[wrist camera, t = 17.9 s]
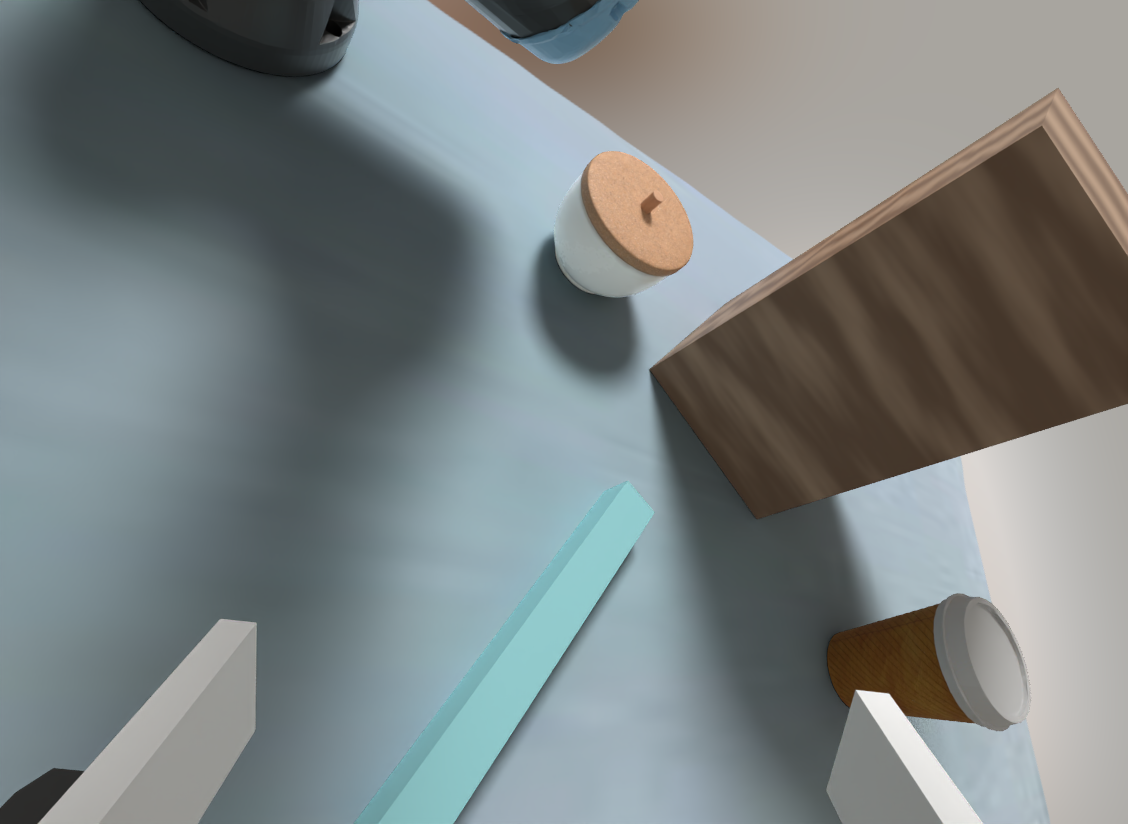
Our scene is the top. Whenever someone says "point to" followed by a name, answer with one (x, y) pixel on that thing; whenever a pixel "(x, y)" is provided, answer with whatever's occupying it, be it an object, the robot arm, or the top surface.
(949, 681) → the disposable coffee cup
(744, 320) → the stand
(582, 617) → the bar
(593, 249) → the lidded jar
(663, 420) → the top surface
